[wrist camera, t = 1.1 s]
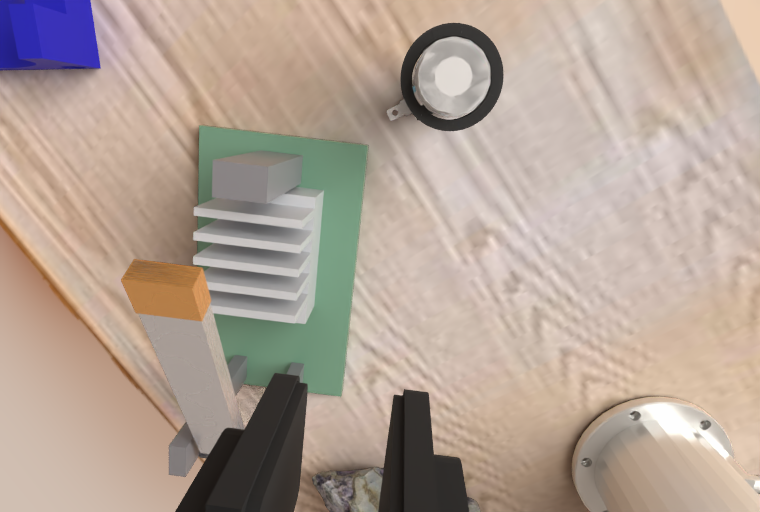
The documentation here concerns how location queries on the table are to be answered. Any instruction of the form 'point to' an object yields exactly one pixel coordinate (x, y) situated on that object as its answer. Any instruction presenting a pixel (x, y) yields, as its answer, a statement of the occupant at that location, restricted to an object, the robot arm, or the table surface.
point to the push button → (450, 77)
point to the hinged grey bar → (186, 345)
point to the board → (277, 257)
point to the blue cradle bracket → (47, 35)
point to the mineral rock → (356, 490)
